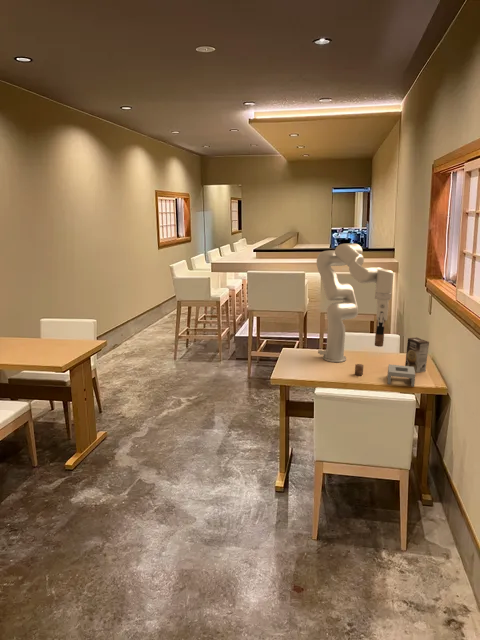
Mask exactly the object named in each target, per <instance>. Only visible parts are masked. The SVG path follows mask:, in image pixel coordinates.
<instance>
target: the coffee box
mask: <svg viewBox="0 0 480 640" xmlns="http://www.w3.org/2000/svg"><path fill="white" fill-rule="evenodd" d="M429 346H430V341H428V340H425V339H422V338H419V337H417V336H416V337H408V338H407V344H406V355H405V362H404V363H405V364H404V366H410V367H414V370H415V374H416V373H423V372H424V373H425V372H426V369H427V362H428V353H429Z"/></svg>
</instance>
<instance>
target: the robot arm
mask: <svg viewBox="0 0 480 640" xmlns="http://www.w3.org/2000/svg"><path fill="white" fill-rule="evenodd" d="M364 260H365V258H364V255H363V248H362V246H361V245H360V244H358V243H340V244H338V245H337V246H336V247H335V249H332V250H330V249H329V250H323V251H321V252H320V253H318V255H317V258H316V267H317V271H318V273H319V275H320V278H321V281H322V282H321V283H322V286H323V290H324V295H325V297H326V299H327V300H328V301H330V302H331V301H333V303H330V304H329V305H328V306H327V309H326V316H327V336H326V348H325V349H324V350H322V349H318V350H317V354H319V355H322V359H323V360H324V361H327V362H330V363H331V362H332V363H342V362H345V361H347V357H346V356H345V342H346V341H345V340H346V325H345V324H344V320H352V319H356V318H357V317H358V315H359V307H358V302H357V298H356V294H355V290H354V287H353V286H352V285H351V284H350V283H348V282H340V281H339V277H338V274H337V273H336V271H335V270H334V269H333V268H332V267H341V266H347V267H348V270H349V271H348V272H349V273H350V276H351V277H352V279H354V280H355V281H357V282H358V283H361V284H375V290H374V292H375V293H374V299H375V300H376V321H377V320H378V326H377V332H376V331H375V334H379V335H383V332H384V333H385V330H384V320H385V322H387V321H388V314H389V303H390V302H389V301H392V293H393V283H394V282H393V281H394V272H393V270H390V269H385V268H383V267H378V266H377V267H363V264H364V262H365V261H364ZM338 301H340V302H338ZM379 319H380V320H379ZM379 321H380V322H379ZM382 321H383V322H382Z"/></svg>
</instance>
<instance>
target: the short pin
mask: <svg viewBox="0 0 480 640" xmlns="http://www.w3.org/2000/svg"><path fill="white" fill-rule="evenodd" d="M354 368H355V369H354V376H356V377H362V375H363V376H364V364H362V363H356V364H355V366H354Z"/></svg>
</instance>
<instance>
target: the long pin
mask: <svg viewBox="0 0 480 640" xmlns="http://www.w3.org/2000/svg"><path fill="white" fill-rule="evenodd" d="M379 320H380V319H379ZM379 322H380V321H379ZM382 322H383V321H382ZM377 326H378V320H377V319H376V323H375V334H374V335H375V336H374V346H375V347H379V348H380V347H383V346H384V341H385V340H384V338H385V329H386V320H384V332H383V335H379V334H376V332H377Z"/></svg>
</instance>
